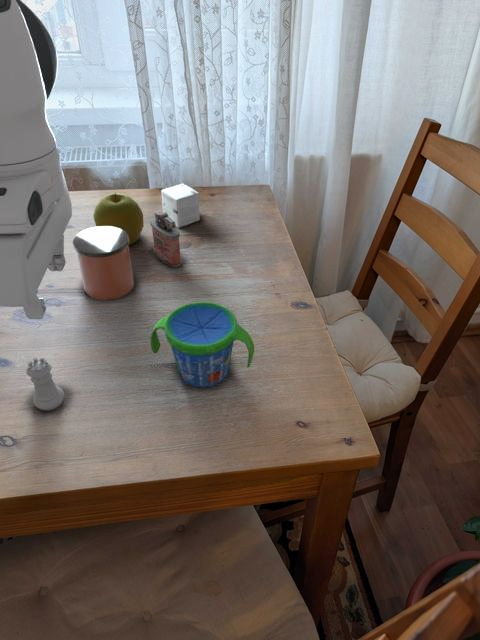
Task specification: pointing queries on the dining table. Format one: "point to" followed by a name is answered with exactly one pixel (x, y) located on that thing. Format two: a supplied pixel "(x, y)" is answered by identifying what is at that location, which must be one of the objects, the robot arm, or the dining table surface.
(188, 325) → the snack cup
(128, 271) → the canister
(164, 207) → the white cardboard box
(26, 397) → the dining table surface
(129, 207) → the apple
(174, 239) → the lighter
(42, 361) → the rook chess piece
